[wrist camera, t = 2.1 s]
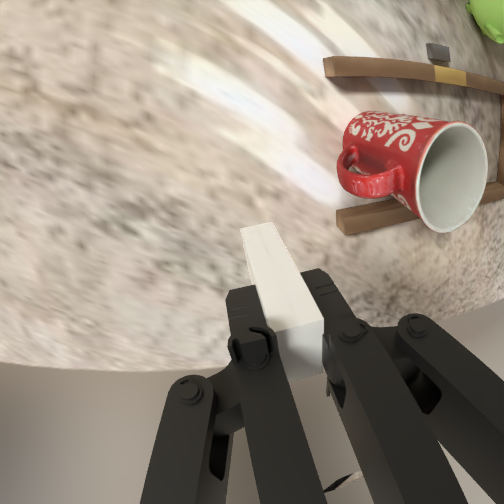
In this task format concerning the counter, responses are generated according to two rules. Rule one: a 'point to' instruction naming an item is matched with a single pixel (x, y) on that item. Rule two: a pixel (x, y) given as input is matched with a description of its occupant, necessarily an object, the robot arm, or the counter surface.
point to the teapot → (489, 17)
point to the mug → (416, 165)
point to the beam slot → (379, 67)
